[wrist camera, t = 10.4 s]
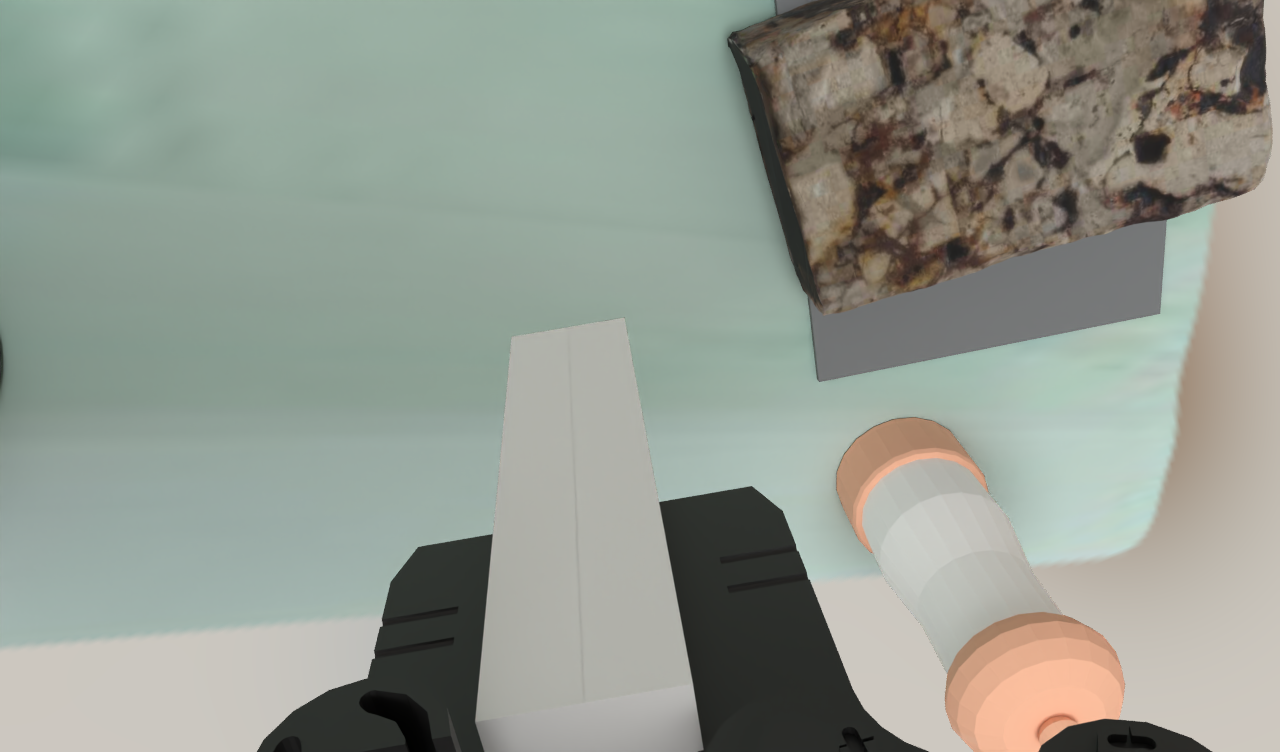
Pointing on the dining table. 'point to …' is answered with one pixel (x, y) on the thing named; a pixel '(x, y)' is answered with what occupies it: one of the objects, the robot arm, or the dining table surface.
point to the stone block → (994, 128)
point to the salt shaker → (974, 591)
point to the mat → (997, 300)
